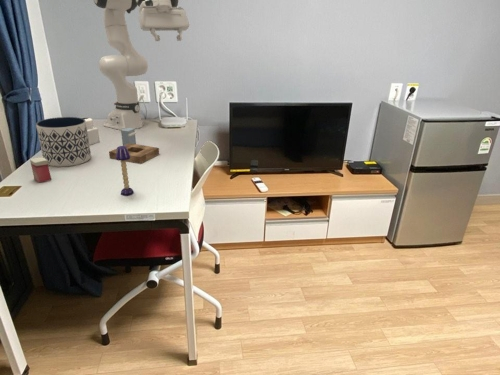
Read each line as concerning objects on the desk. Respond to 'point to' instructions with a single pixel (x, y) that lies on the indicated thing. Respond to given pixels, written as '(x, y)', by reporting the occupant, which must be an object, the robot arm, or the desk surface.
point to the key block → (128, 136)
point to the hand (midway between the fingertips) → (169, 40)
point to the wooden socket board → (138, 153)
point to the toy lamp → (124, 168)
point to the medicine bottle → (92, 131)
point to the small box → (40, 169)
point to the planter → (64, 141)
